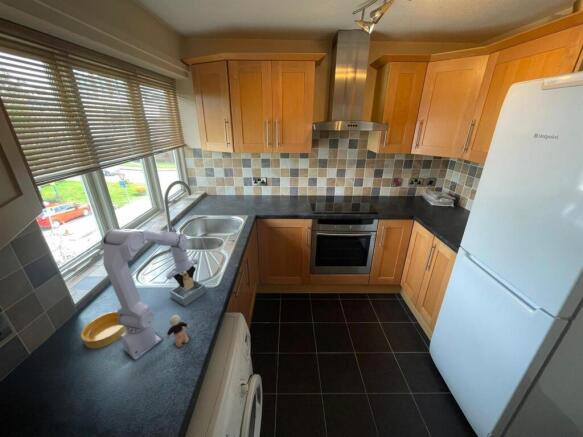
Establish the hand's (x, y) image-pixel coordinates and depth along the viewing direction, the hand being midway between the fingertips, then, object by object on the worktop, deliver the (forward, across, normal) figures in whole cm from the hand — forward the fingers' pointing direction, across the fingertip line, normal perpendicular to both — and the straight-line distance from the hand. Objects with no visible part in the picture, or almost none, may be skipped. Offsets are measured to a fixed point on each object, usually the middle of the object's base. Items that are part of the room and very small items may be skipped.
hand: (186, 283), depth 108 cm
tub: (+6, 0, 0) cm, 6 cm away
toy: (+2, 0, 0) cm, 2 cm away
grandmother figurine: (+6, +18, +20) cm, 28 cm away
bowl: (+6, +30, -8) cm, 32 cm away
